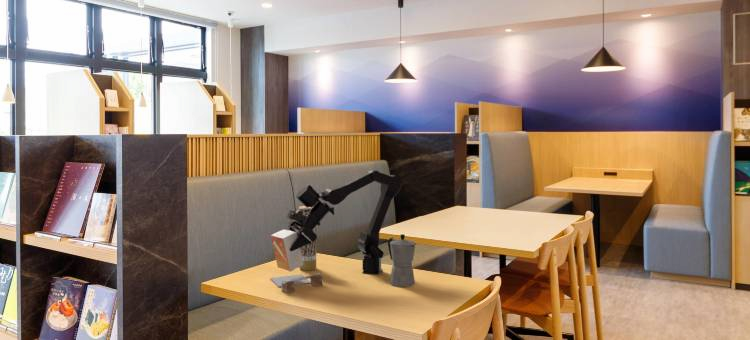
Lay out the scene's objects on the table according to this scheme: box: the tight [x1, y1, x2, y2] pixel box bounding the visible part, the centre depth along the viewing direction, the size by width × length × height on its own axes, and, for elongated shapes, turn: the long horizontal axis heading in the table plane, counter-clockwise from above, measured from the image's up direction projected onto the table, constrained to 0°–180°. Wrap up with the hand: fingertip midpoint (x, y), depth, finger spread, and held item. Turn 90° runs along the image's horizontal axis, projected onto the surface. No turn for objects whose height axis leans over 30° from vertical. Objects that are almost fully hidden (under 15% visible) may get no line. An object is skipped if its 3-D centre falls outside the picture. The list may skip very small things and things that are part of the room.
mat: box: [270, 274, 311, 288], centre depth 198 cm, size 12×12×1 cm
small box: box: [270, 229, 304, 272], centre depth 196 cm, size 8×6×13 cm
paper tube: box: [298, 205, 317, 272], centre depth 215 cm, size 7×7×25 cm
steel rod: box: [282, 272, 323, 284], centre depth 189 cm, size 16×1×1 cm, turn 132°
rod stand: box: [281, 275, 323, 294], centre depth 189 cm, size 15×3×3 cm, turn 132°
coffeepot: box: [387, 233, 416, 288], centre depth 195 cm, size 15×9×18 cm, turn 33°
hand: (286, 248), depth 196 cm, fingers closed on small box, 9 cm apart
